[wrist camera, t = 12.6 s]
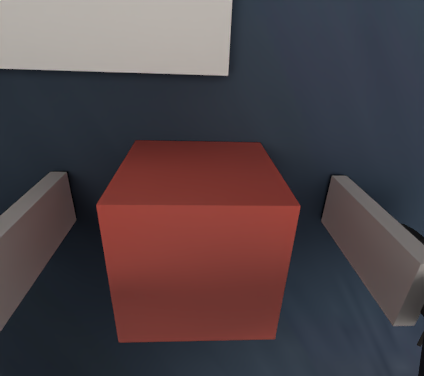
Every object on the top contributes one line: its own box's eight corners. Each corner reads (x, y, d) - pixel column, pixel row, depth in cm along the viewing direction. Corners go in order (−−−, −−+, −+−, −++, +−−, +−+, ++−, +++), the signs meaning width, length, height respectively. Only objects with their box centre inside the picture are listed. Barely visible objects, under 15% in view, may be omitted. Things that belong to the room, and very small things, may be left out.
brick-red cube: (144, 242, 16) (118, 342, 11) (135, 140, 14) (96, 204, 8) (249, 242, 16) (274, 339, 11) (260, 142, 14) (300, 205, 8)
